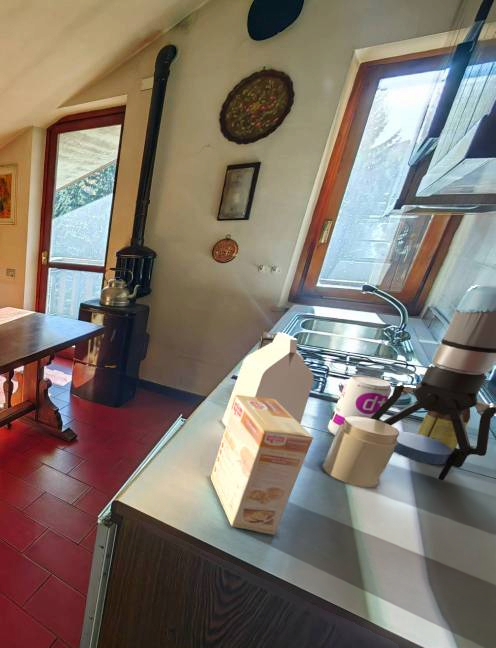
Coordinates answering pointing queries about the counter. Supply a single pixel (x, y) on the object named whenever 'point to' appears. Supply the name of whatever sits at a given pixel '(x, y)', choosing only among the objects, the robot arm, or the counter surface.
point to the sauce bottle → (441, 427)
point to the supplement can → (359, 399)
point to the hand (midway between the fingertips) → (406, 465)
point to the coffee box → (266, 339)
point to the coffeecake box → (258, 463)
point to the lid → (422, 448)
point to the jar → (361, 451)
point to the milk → (275, 377)
